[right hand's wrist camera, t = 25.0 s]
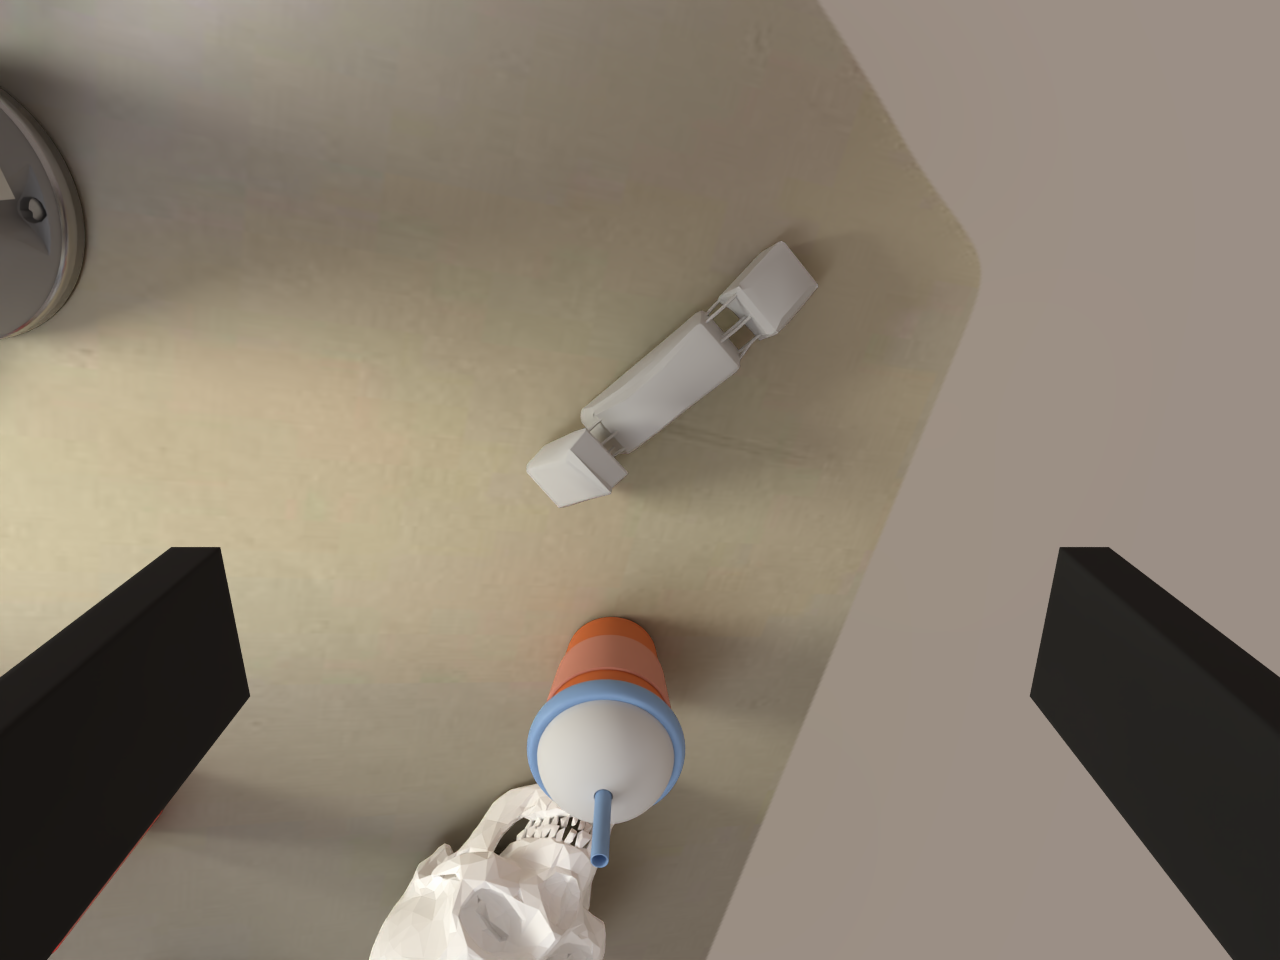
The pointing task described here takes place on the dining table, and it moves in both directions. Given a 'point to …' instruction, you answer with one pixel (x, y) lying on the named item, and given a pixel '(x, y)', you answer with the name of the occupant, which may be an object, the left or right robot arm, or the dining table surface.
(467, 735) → the dining table surface
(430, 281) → the dining table surface
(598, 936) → the skull
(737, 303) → the white segmented block model
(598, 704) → the cup with straw
